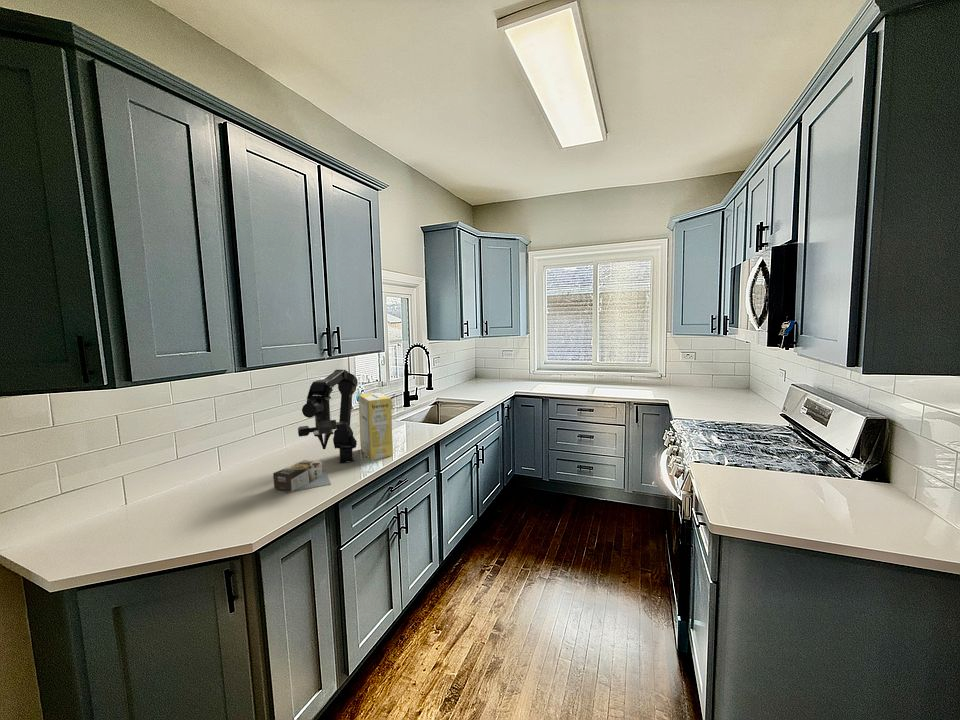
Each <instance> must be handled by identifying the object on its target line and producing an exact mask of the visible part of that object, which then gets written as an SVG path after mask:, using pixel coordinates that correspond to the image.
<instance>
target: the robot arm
mask: <svg viewBox="0 0 960 720" xmlns="http://www.w3.org/2000/svg"><path fill="white" fill-rule="evenodd" d="M336 385H337V390H338V391H339V393H340V405H339V408H340V409H339V419H338V421H337V419H331V408H330V407H331V406H330V400H331V399H332V397H331V394H332V392H333V390H334V389H333V388H334V387H335V386H336ZM357 386H358V378H357V377H356V376H355V375H354V374H352V373H351V372H349V371H348V370H346V369H335V370H333V372H332V373H331V374H329V375H328V376H326V377H325V378H323V379H317V380H314V381H313V382H312V383H311V385H310V386H309V390H308V394H307V396H306V403H305V404H304V405H302V409H301V411H302V415H303V416H304V417H306V418H309V419H310V418H311V419H312V418H314V420H315V421H314V422H315V423H314V424H315V427H309V425H302V426H301V425H300V426H299V427H298V428H297V435H298V437H306V436H307V437H308V436H309V434H310V433H313V436H314V437H317V438H318V440H319V443H320V445H321V447H322V450H326V448H327V445H328V442H329V439H330V437H331V435H333V438H332V443H333V446H334V447H333V448H334V449H339V457H338V459H337V460H338V461H339V463H340V464H343V463H350V462H355V461H356V460H355V458H354V457H353V449H355V448H357V442H358V441H357V440H356V438H355V436H354V431H353V430H352V428H351V417H352V416H351V415H352V403H353V402H352V401H353V400H352V399H353V395H354V394H355V392H356V390H357ZM323 434H324V435H323ZM323 436H324V437H323Z"/></svg>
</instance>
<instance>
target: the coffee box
mask: <svg viewBox="0 0 960 720" xmlns="http://www.w3.org/2000/svg"><path fill="white" fill-rule="evenodd" d="M322 465H323V464H322V462H321V461H316V460H309V459H303V460H301V461H299V462H296V463H294V464H292V465H289V466H287V467H285V468H283V469H280V470H278V471H275V472H273V476H272V477H273V489H276V490H280V491H284V492H286V491H290V492H289V493H292V491H293V492H295V491H294V490H296V489H298V488H300V487H302V486H304V485H306V484H308V483H310V482H312V481H314V480H316V479H318V478H320V477H322V470H323V467H322Z"/></svg>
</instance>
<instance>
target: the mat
mask: <svg viewBox="0 0 960 720" xmlns="http://www.w3.org/2000/svg"><path fill="white" fill-rule="evenodd" d="M330 485H332V482H331V480H330V478H329V475H328V473H327V470H326V469H325V468H324V469H323V468H322V477H320V478H318V479H316V480H314V481H312V482H310V483H308V484H306V485H304V486H302V487H300V488H298V489H296V490H294V491H292V492H298V491H303V490H309V489H314V488H319V487H325V486H330ZM292 492H290V491H285V493H286V494H287V493H292Z"/></svg>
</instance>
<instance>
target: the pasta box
mask: <svg viewBox="0 0 960 720" xmlns="http://www.w3.org/2000/svg"><path fill="white" fill-rule="evenodd" d="M358 416H359V418H358V419H359V420H358V421H359V436H360V437H359V443H360V451H361V452H363V454H365V455H366V457H367V458H369V459H370V460H371V461H373V460H376V459H383V458H388V456H389V457H393V456H394V451H393V449H394V448H393V447H394V446H393V422H392V419H393V418H392V398H391V397H389V396H387V395H385V394H383V393H381V392H374V393H372V392H371V393H363V394H358Z"/></svg>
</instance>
